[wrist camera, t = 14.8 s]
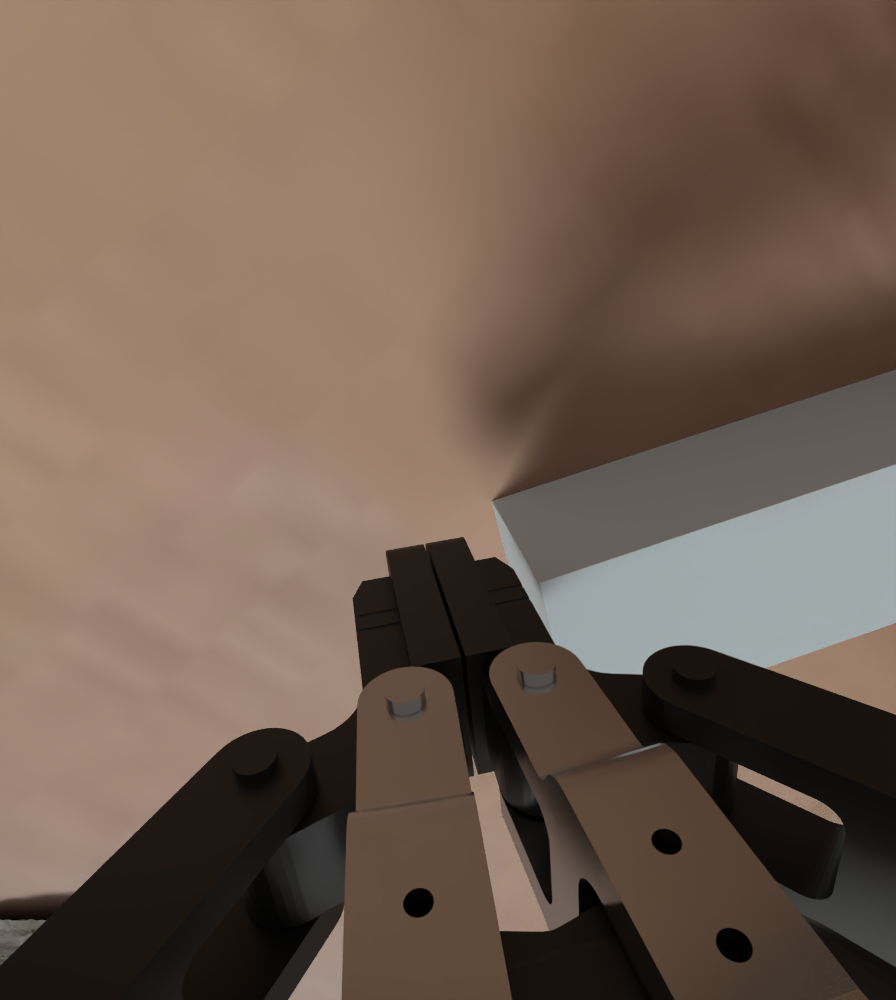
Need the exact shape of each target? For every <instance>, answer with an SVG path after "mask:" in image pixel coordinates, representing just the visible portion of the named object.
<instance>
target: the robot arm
mask: <svg viewBox="0 0 896 1000" xmlns="http://www.w3.org/2000/svg"><path fill="white" fill-rule="evenodd" d="M386 558H387V565H388V571H389V577H384V578H378V579H373V580H367V581H362V583H361V585H360V586H359V588H358V590H357V592H356V594H355V595H354V597H353V605H354V614H355V623H356V632H357V641H358V650H359V659H360V668H361V677H362V687H363V690H362V692H361V694H360V696H359V699H358V704H357V709H356V710H355V712H354V713H353V714H352V715H351V716H350V717H349V718H348V719H347V720H346V721H345V722H344V723H343V724H341V725H340V726H338V727H337V728H336V729H334V730H332V731H330V732H328V733H327V734H325V735H322V736H320V737H318V738H316V739H314V740H312V741H310V742H308V743H307V742H306V740H305V739H304V738H303V737H302V736H301V735H299V734H298V733H296V732H294V731H291V730H287V729H282V728H267V729H261V730H256V731H253V732H250V733H247V734H245V735H242V736H240V737H238V738H237V739H235V740H233V741H231V742H230V743H228V744H227V745H226V746H224V747H223V748H222V749H221V750H220V751H219V752H218V753H216V754H215V755H214V756H213V757H212V758H211V759H210V760H209V761H208V762H207V763H206V764H205V765H204V766H203V767H202V768H201V769H200V770H199V771H198V772H197V773H196V774H195V775H194V776H193V777H192V778H191V779H190V780H189V781H188V782H187V783H186V784H185V785H184V786H183V787H182V788H181V789H180V790H179V791H178V792H177V793H176V794H175V795H174V796H173V797H172V798H171V799H170V800H169V801H168V802H167V803H166V804H165V805H163V806H162V807H161V808H160V809H159V810H158V811H157V812H156V813H155V814H154V815H153V816H152V817H151V818H150V819H149V820H148V821H147V822H146V823H145V824H144V825H143V826H142V827H141V828H140V829H139V830H138V831H137V832H136V833H135V834H134V835H133V836H132V837H131V838H130V839H129V840H128V841H127V842H126V843H125V844H124V845H123V846H122V847H121V848H120V849H119V850H118V851H117V852H116V853H115V854H114V855H113V856H112V857H110V858H109V859H108V860H107V861H106V862H105V863H104V864H103V865H102V866H101V867H100V868H99V869H98V870H97V871H96V872H95V873H94V874H93V875H92V876H91V877H90V878H89V879H88V880H87V881H86V882H85V883H84V884H83V885H82V886H81V887H80V888H79V889H78V890H77V891H76V892H75V893H74V894H73V895H72V896H71V897H70V898H69V899H68V900H67V901H66V902H65V903H64V904H63V905H62V906H61V907H60V908H59V909H57V910H56V911H55V912H54V913H53V914H52V915H51V916H50V917H49V918H48V919H47V920H46V921H45V922H44V923H43V924H42V925H41V926H40V927H39V928H38V929H37V930H36V931H35V932H34V933H33V934H32V935H31V936H30V937H29V938H28V939H27V940H26V941H25V942H24V943H23V944H22V945H21V946H20V947H19V948H18V949H17V950H16V951H15V952H14V953H13V954H12V955H11V956H10V957H9V958H8V959H7V960H6V961H5V962H3V963H2V964H1V965H0V1000H288V999H289V997H290V996H291V994H292V993H293V991H294V989H295V988H296V986H297V985H298V983H299V982H300V980H301V979H302V977H303V975H304V974H305V972H306V971H307V969H308V968H309V966H310V965H311V963H312V961H313V960H314V958H315V957H316V955H317V954H318V952H319V951H320V949H321V948H322V946H323V944H324V943H325V941H326V940H327V938H328V937H329V935H330V934H331V932H332V930H333V929H334V927H335V926H336V924H337V922H338V920H339V919H340V917H341V914H342V911H343V908H344V936H343V971H342V1000H896V715H895V714H892V713H889V712H886V711H883V710H881V709H878V708H875V707H872V706H869V705H867V704H864V703H861V702H858V701H855V700H852V699H850V698H847V697H844V696H841V695H838V694H836V693H833V692H830V691H827V690H824V689H821V688H819V687H816V686H813V685H810V684H807V683H805V682H802V681H799V680H796V679H793V678H791V677H788V676H785V675H782V674H779V673H776V672H774V671H771V670H768V669H765V668H762V667H760V666H757V665H754V664H751V663H748V662H745V661H743V660H740V659H737V658H734V657H731V656H729V655H726V654H723V653H720V652H717V651H714V650H711V649H708V648H704V647H699V646H691V645H678V646H671V647H667V648H663V649H661V650H658V651H656V652H655V653H653V654H652V655H651V656H649V657H648V658H647V660H646V661H645V663H644V666H643V674H612V673H601V672H596V671H592V670H588V669H586V668H585V666H584V665H583V664H582V662H581V661H580V659H579V658H578V657H577V656H576V655H575V654H573V653H572V652H571V651H569V650H567V649H566V648H564V647H561V646H558V645H555V643H554V641H553V640H552V638H551V636H550V634H549V632H548V631H547V629H546V627H545V625H544V623H543V622H542V620H541V618H540V616H539V614H538V613H537V611H536V609H535V607H534V605H533V604H532V602H531V601H530V600H529V596H528V594H527V593H526V591H525V589H524V587H522V584H521V582H520V580H519V578H518V576H517V575H516V573H515V571H514V569H513V568H511V567H510V566H508V565H507V564H505V563H503V562H502V561H500V560H499V559H497V558H496V557H493V558H488V559H482V560H477V561H475V560H474V558H473V556H472V554H471V552H470V549H469V547H468V545H467V543H466V541H465V539H464V537H460V538H455V539H449V540H443V541H438V542H432V543H426V550H425V547H424V545H423V544H422V545H416V546H410V547H405V548H399V549H393V550H388V551H386ZM472 755H473V759H474V762H475V766H476V769H477V772H478V774H483V773H487V772H492V771H494V772H495V775H496V778H497V781H498V785H499V789H500V801H501V812H502V815H503V818H504V821H505V823H506V825H507V828H508V830H509V833H510V835H511V838H512V840H513V842H514V845H515V847H516V850H517V852H518V855H519V857H520V859H521V862H522V864H523V867H524V869H525V872H526V874H527V876H528V879H529V881H530V884H531V886H532V888H533V891H534V893H535V896H536V898H537V901H538V903H539V905H540V908H541V910H542V913H543V915H544V918H545V920H546V923H547V926H548V929H549V931H545V932H518V931H499V925H498V920H497V914H496V909H495V904H494V898H493V893H492V887H491V882H490V876H489V871H488V865H487V860H486V854H485V849H484V843H483V838H482V832H481V827H480V821H479V816H478V811H477V805H476V800H475V796H474V792H472V791H471V786H470V780H469V777H471V776H474V770H473V761H472ZM738 764H739V765H741V766H744V767H746V768H748V769H750V770H753V771H755V772H757V773H759V774H761V775H764V776H766V777H768V778H770V779H773V780H775V781H777V782H779V783H781V784H784V785H786V786H788V787H790V788H792V789H795V790H797V791H799V792H801V793H804V794H806V795H808V796H810V797H812V798H815V799H817V800H819V801H821V802H822V803H824V804H825V805H827V806H828V807H830V808H831V809H832V810H833V811H834V812H835V813H836V814H837V815H838V816H839V818H840V819H841V821H842V822H843V824H844V825H841V824H836V823H833V822H830V821H828V820H826V819H824V818H822V817H819V816H817V815H815V814H813V813H811V812H809V811H806V810H804V809H802V808H800V807H798V806H796V805H794V804H791V803H789V802H787V801H785V800H783V799H781V798H779V797H776V796H774V795H772V794H770V793H768V792H766V791H763V790H761V789H759V788H757V787H755V786H753V785H751V784H748V783H746V782H744V781H742V780H740V779H738V778H737V771H738Z"/></svg>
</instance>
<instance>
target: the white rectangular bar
mask: <svg viewBox="0 0 896 1000" xmlns="http://www.w3.org/2000/svg"><path fill="white" fill-rule="evenodd" d="M492 504H493V508H494V511H495V515H496V519H497V523H498V527H499V530H500V534H501V538H502V542H503V546H504V550H505V553H506V557H507V561H508V565H509V566H510V567H511V568H513V569H514V571H515V573H516V575H517V576H518V578H519V580H520V582H521V584H522V587H524V589H525V591H526V593H527V594H528V596H529V600H530V601H531V602H532V604H533V605H534V607H535V609H536V611H537V613H538V614H539V616H540V618H541V620H542V622H543V623H544V625H545V627H546V629H547V631H548V632H549V634H550V636H551V638H552V640H553V641H554V643H555V645H558V646H561V647H564V648H566V649H567V650H569V651H571V652H572V653H573V654H575V655H576V656H577V657H578V658H579V659H580V661H581V662H582V664H583V665H584V666H585V668H586V669H588V670H592V671H596V672H601V673H612V674H643V666H644V663H645V661H646V660H647V658H648V657H649V656H651V655H652V654H653V653H655V652H656V651H658V650H661V649H663V648H667V647H671V646H678V645H691V646H699V647H704V648H708V649H711V650H714V651H717V652H720V653H723V654H726V655H729V656H731V657H734V658H737V659H740V660H743V661H745V662H748V663H751V664H754V665H757V666H760V667H762V668H767V667H770V666H773V665H776V664H779V663H782V662H785V661H787V660H790V659H793V658H796V657H799V656H802V655H805V654H808V653H810V652H813V651H816V650H819V649H822V648H825V647H828V646H831V645H834V644H836V643H839V642H842V641H845V640H848V639H851V638H854V637H857V636H860V635H862V634H865V633H868V632H871V631H874V630H877V629H880V628H883V627H886V626H888V625H891V624H894V623H896V370H893V371H890V372H887V373H883V374H880V375H877V376H874V377H871V378H868V379H865V380H862V381H859V382H856V383H853V384H850V385H847V386H844V387H840V388H837V389H834V390H831V391H828V392H825V393H822V394H819V395H816V396H813V397H810V398H807V399H804V400H801V401H797V402H794V403H791V404H788V405H785V406H782V407H779V408H776V409H773V410H770V411H767V412H764V413H761V414H757V415H754V416H751V417H748V418H745V419H742V420H739V421H736V422H733V423H730V424H727V425H724V426H721V427H718V428H714V429H711V430H708V431H705V432H702V433H699V434H696V435H693V436H690V437H687V438H684V439H681V440H678V441H675V442H671V443H668V444H665V445H662V446H659V447H656V448H653V449H650V450H647V451H644V452H641V453H638V454H635V455H632V456H628V457H625V458H622V459H619V460H616V461H613V462H610V463H607V464H604V465H601V466H598V467H595V468H592V469H589V470H585V471H582V472H579V473H576V474H573V475H570V476H567V477H564V478H561V479H558V480H555V481H552V482H549V483H546V484H542V485H539V486H536V487H533V488H530V489H527V490H524V491H521V492H518V493H515V494H512V495H509V496H506V497H502V498H499V499H496V500H493V501H492Z"/></svg>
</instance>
